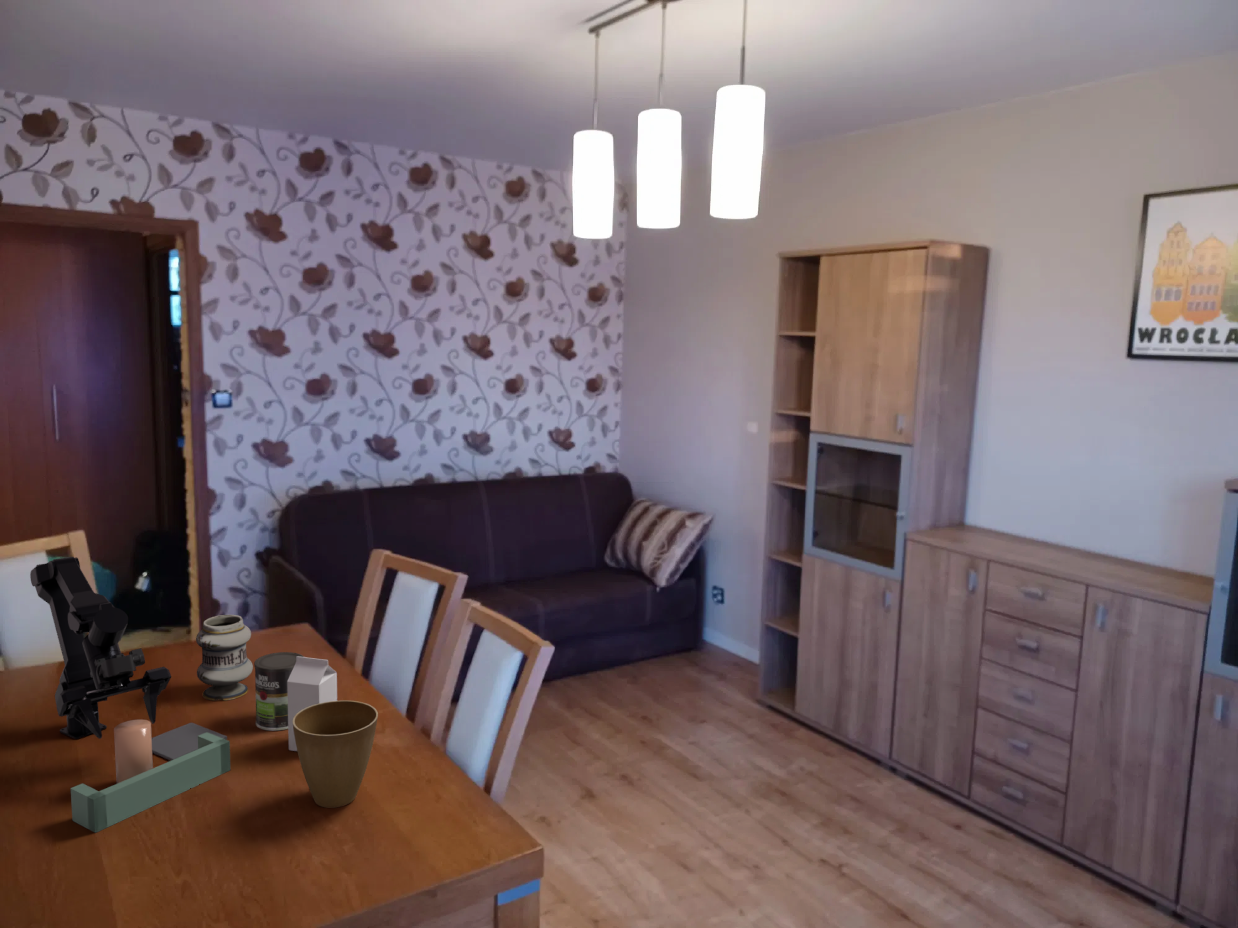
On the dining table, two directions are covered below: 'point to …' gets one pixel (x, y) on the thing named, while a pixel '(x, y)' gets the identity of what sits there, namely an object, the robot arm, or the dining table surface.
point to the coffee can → (273, 689)
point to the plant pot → (335, 748)
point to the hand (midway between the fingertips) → (127, 729)
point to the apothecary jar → (224, 657)
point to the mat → (179, 741)
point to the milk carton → (309, 688)
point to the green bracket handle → (150, 785)
